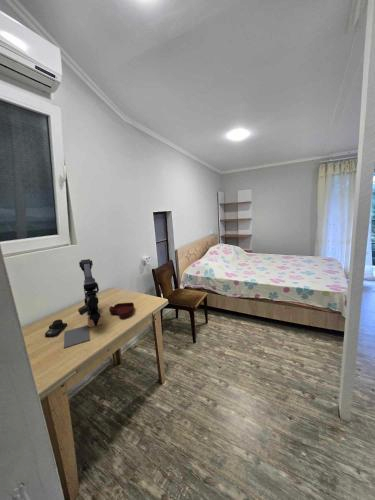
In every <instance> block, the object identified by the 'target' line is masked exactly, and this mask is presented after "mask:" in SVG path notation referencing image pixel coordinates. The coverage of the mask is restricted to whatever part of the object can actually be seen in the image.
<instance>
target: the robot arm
mask: <svg viewBox="0 0 375 500" xmlns="http://www.w3.org/2000/svg"><path fill="white" fill-rule="evenodd" d="M78 265H79V268H80V269H81V271H82V272H83V275H84V280H83V283H84V284H83V286H82V287H83V291H84V292H83V293H84V299H83V300H84V305H82V306H81V307H79V308H78V311H77V312H78V313H79V315H80V316H83V315H85V314H86V313H87V316H88V317H89V318H90V320H93V322H94V325H95V326H94V327H96V326H98V325H99V324H98V321H99V318H100V317H101V318H102V314H101V312H100V311H99V310H100V309H99V297H98V295H97V294H98V293H99V291H100V288H99V283H98V282H96V279H95V278H94V277H93V275H92V267H93V266H94V265H93V260H91V259H90V258H87V259H82V260H80V261H79V262H78ZM100 314H101V315H100ZM97 324H98V325H97Z"/></svg>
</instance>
